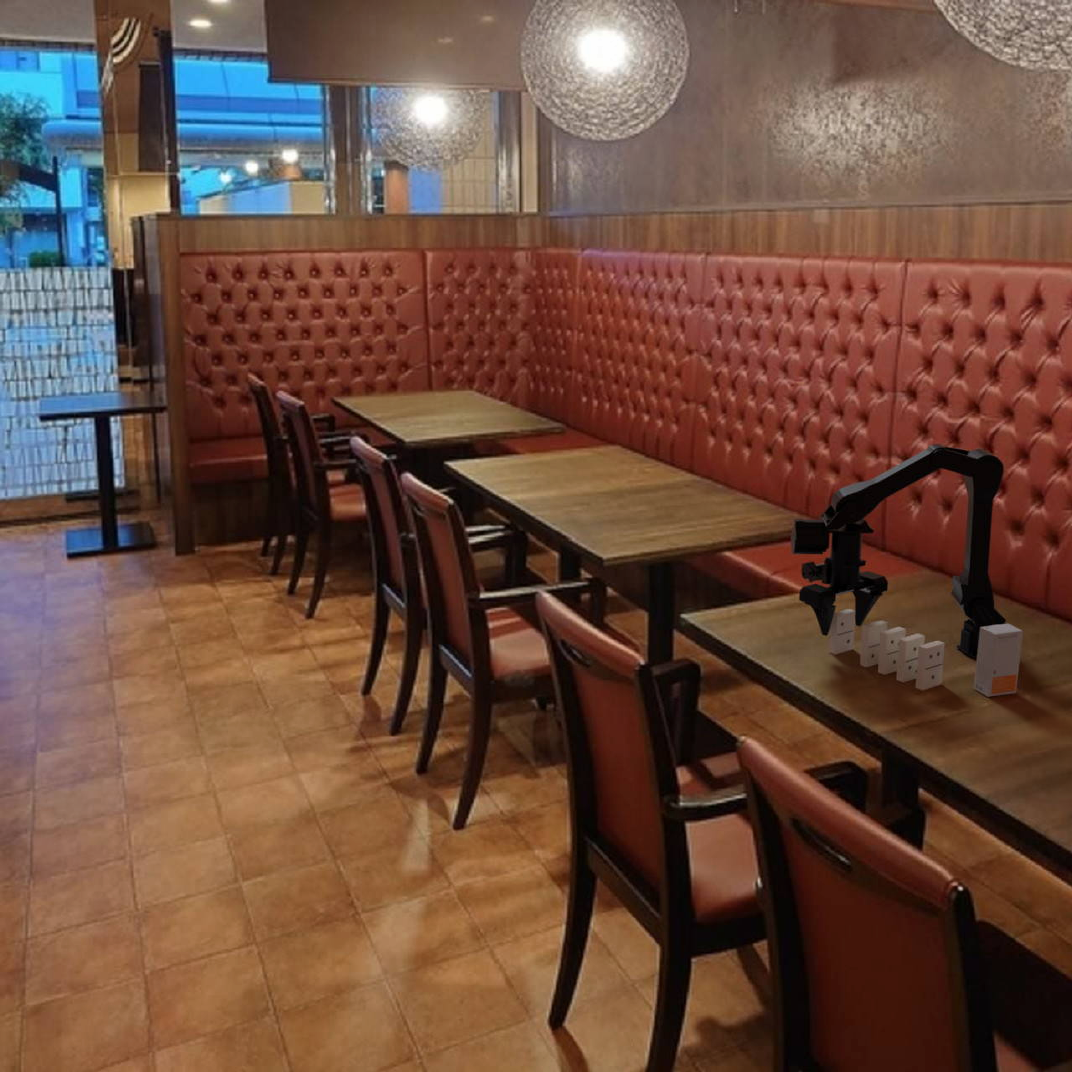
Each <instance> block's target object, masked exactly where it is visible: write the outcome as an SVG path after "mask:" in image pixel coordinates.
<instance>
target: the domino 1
mask: <svg viewBox="0 0 1072 1072" xmlns="http://www.w3.org/2000/svg"><path fill="white" fill-rule="evenodd" d="M855 625H856V623H855V609H851V608H847V609H844V610H840V611H835V612H834V615H833V619H832V623H831V626H830V630H829V649H828V652H829V653H830V654H833V655H838V654H842V653H845V652H849V651H852V650H854V642H855V641H854V640H855V639H854V637H855V628H856V627H855Z"/></svg>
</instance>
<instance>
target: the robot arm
mask: <svg viewBox="0 0 1072 1072" xmlns="http://www.w3.org/2000/svg"><path fill="white" fill-rule="evenodd" d="M1004 468H1005V467H1004V464H1003V462H1002V460H1001V459H999V457H997V456H996V455H994V454H993V453H991V451H988V450H986V449H985V448H975V449H972V450H967V449H963V448H959V447H958V448H957V447H950V446H945V445H943V444H941V443H933V444H931V445H929V446H928V447H927V448H926V449H924V450H922V451H921V452H919V453H916V454H915V455H913V456H911V457H910V458H908V459H906V460H904V461H903V462H902V461H901V462H900V463H899V464H896V465H895V466H893V467H892V468H890V469H888V470H886V471H885V472H883V473H881V474H879V475H877V476H875V477H874V478H871V479H868V480H865V481H859V482H854V483H852V484H850V485H847V486H844V487H841V488H839V489H838V490H836V491H835V492H833V494H832V497H831V502H830V504H829V505H828V506H827V508H826V509H825V510H824V512H823V513H822V514H821V515H820V516H819V519H803V518H794V519H793V525H792V531H791V533H790V550H791V554H792V555H823V554H824V553H825V552H826V553H827V550H829V548H830V555H829V556H828V557H825V558H824V562H822V563H818V564H816V563H815V562H814V561H808V562H804V563H801V570H800V571H801V577H802V578H803V579H804V580H808V582H809V583H813V582H815V581H816V582H817V581H821V584H825V585H828V587H826V586H823V585H821V584H817V583H814V584H809V585H805V586H802V587H801V589H799V593H798V594H799V597H798V599H799V600H798V601H800V602H802V603H804V604H805V605H806V606H807V605H808V606H810V607H811V609H812V610H813V612H814V614H815V616H816V619H817V623H818V626H819V629H820V632H821V634H822V635H823V636H828V635H829V634H830V626H831V623H832V619H833V615H834V613H836V611H835V610H836V605H834V603H836V598H837V596H840V595H844V594H848V593H851V592H852V594H853V597H854V599H855V600H854V611H855V625H856V626H857V627H862V625H863V623H864V622H865V620H866V619H867V617H868V616H869V613H870V611H871V610H872V609H873V607H874V606H875V604H876V603H877V602H878V600H879V598H880V597H882V596H883V595H884V592H888V588H889V586H888V584H889V581H888V580H887V577H886V576H885V575H882V574H879V573H876V572H872V571H868V570H865V571H862V572H861V567H864V566H866V563H867V561H866V560H865V559H862V552H863V551H862V547H863V534H874V532H875V530H874V529H873V527H872V526H871V525H870V524H869V523H868V522H867V520H866V519H865V518H866V517H867V516H868V515H870V514H871V513H872V512H874V511H875V510H876V508H878V506H879V505H880V504H881V503H882V502H884V500H885V499H887V498H889V497H892V495H894V494H897V493H898V492H900V491H902V490H903V489H906V488H907V487H910V486H911V485H912V484H915V483H916V482H919V481H920V480H922V479H924V478H925V477H927V476H929V475H931V474H933V473H934V472H937V471H938V470H940V469H942V470H947V471H949V472H950V471H951V472H953V473H956V474H959V475H961V476H963V481H964V486H965V489H966V493H967V498H968V500H967V515H966V531H965V546H964V562H963V564H964V565H963V569H962V571H961V573H960V575H959V576H958V575H952V585H953V587H952V590H951V592H950V595H951V596H952V597H953V599H954V601H955V604H956V605H957V606H958V607H959V609H960V610H961V611H962V612H963V614H964V615H965V616H966V617H967V618H968V619H967V620H963V628H962V629H961V632H960V633H961V634H960V644H958V645H956V649H957V650H959V651H960V652H962V653H964V654H966V655H968V656H970V657H972V658H973V659H974V660H975V659H976V660H977V653H978V643H979V634H980V627H986V626H991V625H1001V624H1006V621H1007V620H1006V618H1004V616H1003V615H1002V614H1001V613H1000V612H999V610H998V609H997V608H996V607H995V598H994V590H993V587H992V586H993V585H992V582H991V578H990V574H989V567H990V564H989V563H990V554H991V553H990V550H991V535H992V522H993V505H994V500H995V498H996V495H997V494H998V492H999V490H1000V487H1001V485H1002V484H1001V483H1002V479H1003V477H1004V471H1005V469H1004ZM830 534H831V539H830ZM830 541H831V543H830Z"/></svg>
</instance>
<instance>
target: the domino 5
mask: <svg viewBox="0 0 1072 1072" xmlns="http://www.w3.org/2000/svg"><path fill="white" fill-rule="evenodd" d="M944 657H945V642H944V641H943V642H942V641H940V640H935V641H931V642H927V643H924V645H921V646H919V649H918V662H917V675H916V679H915V688H916V689H918V690H920V691H925V690H928V689H931V688H934V687H937V686H939V685H941V684H942V680H943V668H944Z"/></svg>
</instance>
